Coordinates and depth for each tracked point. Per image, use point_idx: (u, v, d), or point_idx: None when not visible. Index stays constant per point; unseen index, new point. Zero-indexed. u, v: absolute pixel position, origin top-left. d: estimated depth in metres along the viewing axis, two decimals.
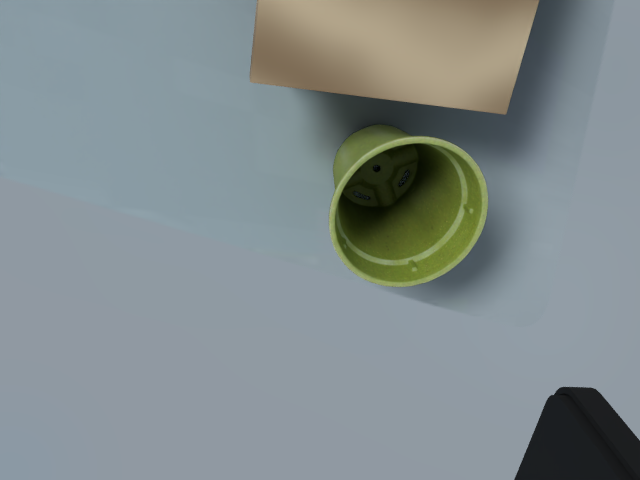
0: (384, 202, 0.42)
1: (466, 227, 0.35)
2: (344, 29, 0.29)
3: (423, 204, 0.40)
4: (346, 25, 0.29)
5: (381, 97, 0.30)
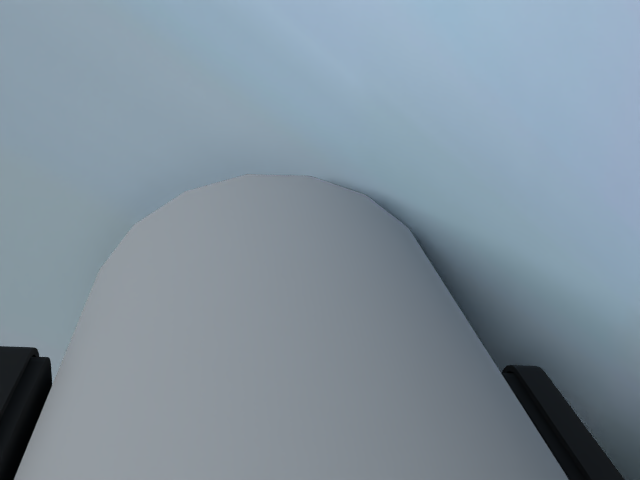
0: None
1: None
2: None
3: None
4: None
5: None
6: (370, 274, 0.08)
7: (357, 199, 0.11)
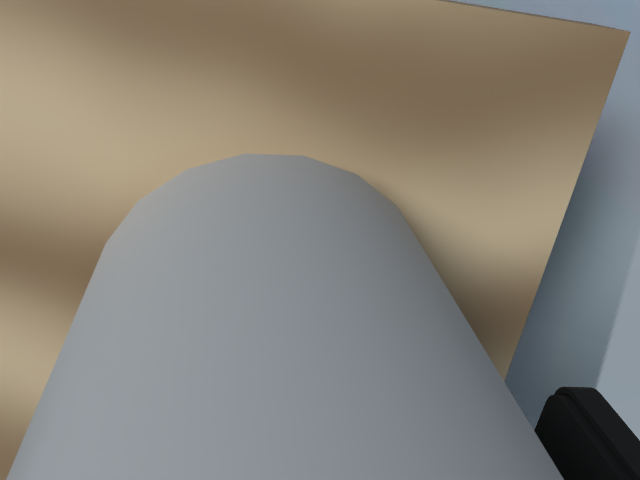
0: None
1: None
2: None
3: None
4: None
5: None
6: (356, 242, 0.09)
7: (348, 177, 0.11)
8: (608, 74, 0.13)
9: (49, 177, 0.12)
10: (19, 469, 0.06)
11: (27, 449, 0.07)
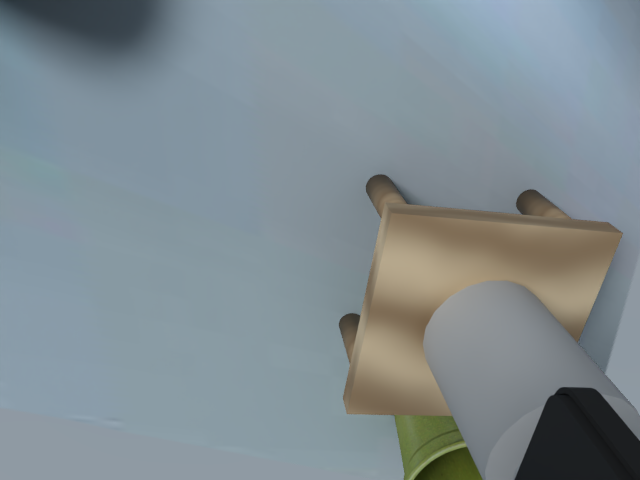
0: None
1: None
2: (422, 377, 0.36)
3: None
4: (424, 374, 0.36)
5: (448, 415, 0.38)
6: (542, 316, 0.30)
7: (523, 288, 0.33)
8: (614, 247, 0.34)
9: (412, 287, 0.33)
10: (480, 375, 0.28)
11: (478, 371, 0.28)
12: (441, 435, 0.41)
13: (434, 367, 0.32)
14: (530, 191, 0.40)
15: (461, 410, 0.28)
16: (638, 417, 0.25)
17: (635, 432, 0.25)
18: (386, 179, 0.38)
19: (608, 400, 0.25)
